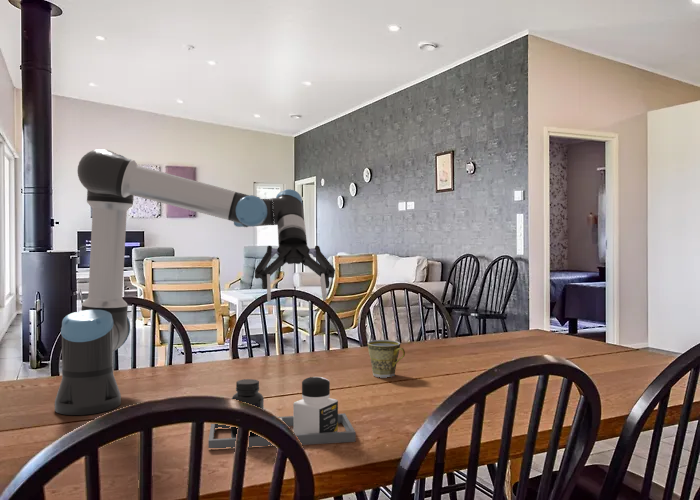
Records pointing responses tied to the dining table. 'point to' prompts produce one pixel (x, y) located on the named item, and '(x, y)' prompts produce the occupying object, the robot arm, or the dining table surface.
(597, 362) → the dining table surface
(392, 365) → the ceramic cup
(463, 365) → the dining table surface
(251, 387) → the supplement bottle
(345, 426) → the tray
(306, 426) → the medicine bottle
